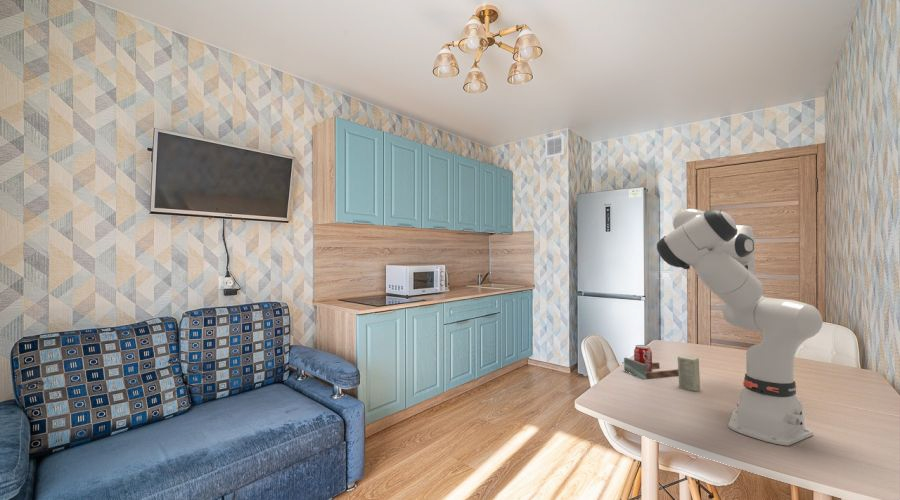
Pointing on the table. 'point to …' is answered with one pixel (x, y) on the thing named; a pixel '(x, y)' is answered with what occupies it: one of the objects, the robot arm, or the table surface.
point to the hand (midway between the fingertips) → (741, 301)
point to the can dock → (641, 372)
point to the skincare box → (689, 373)
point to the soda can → (643, 356)
